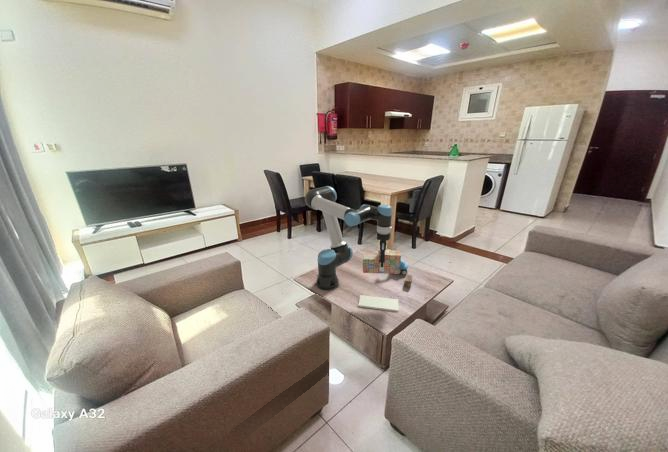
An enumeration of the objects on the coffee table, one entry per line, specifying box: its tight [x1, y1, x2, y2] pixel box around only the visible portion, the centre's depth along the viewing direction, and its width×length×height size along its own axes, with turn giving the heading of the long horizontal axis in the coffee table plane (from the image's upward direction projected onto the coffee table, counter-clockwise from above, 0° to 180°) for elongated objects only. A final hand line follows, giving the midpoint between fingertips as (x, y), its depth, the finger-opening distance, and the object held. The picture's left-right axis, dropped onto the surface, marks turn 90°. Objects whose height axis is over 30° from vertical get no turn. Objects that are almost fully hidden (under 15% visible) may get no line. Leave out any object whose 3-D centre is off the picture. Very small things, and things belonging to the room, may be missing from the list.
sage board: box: [357, 294, 399, 312], centre depth 152 cm, size 23×10×1 cm, turn 77°
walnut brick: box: [403, 273, 413, 289], centre depth 170 cm, size 4×8×5 cm, turn 158°
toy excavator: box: [387, 248, 409, 276], centre depth 183 cm, size 9×17×17 cm, turn 80°
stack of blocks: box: [362, 249, 402, 275], centre depth 151 cm, size 21×6×12 cm, turn 85°
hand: (381, 267), depth 152 cm, fingers closed on stack of blocks, 7 cm apart
